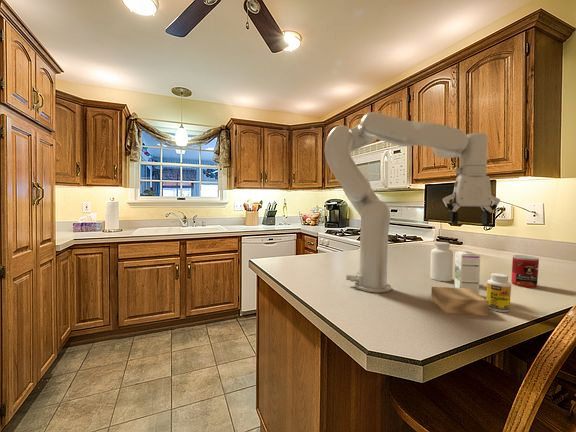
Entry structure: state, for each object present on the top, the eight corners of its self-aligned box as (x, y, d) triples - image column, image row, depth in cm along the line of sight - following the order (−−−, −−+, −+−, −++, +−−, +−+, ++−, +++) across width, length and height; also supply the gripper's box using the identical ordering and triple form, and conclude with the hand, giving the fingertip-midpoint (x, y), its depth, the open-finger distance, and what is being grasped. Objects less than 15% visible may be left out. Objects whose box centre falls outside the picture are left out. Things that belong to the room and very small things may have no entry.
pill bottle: (431, 275, 120) (433, 240, 119) (453, 278, 115) (454, 242, 114) (428, 279, 113) (429, 242, 112) (451, 283, 108) (452, 244, 108)
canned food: (515, 286, 105) (517, 257, 105) (508, 281, 113) (509, 254, 112) (541, 289, 102) (543, 259, 102) (531, 283, 110) (533, 255, 109)
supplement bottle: (486, 310, 81) (488, 275, 81) (485, 304, 86) (486, 271, 85) (511, 314, 78) (513, 278, 78) (508, 308, 83) (510, 274, 82)
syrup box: (479, 298, 91) (481, 254, 90) (459, 297, 92) (461, 253, 91) (471, 293, 96) (473, 251, 96) (452, 291, 98) (454, 250, 97)
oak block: (445, 313, 79) (446, 298, 78) (431, 300, 90) (431, 286, 89) (488, 316, 77) (488, 300, 77) (468, 302, 88) (469, 288, 88)
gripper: (449, 170, 90) (447, 224, 90) (508, 171, 87) (505, 225, 88) (439, 173, 97) (437, 222, 98) (493, 173, 95) (490, 224, 96)
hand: (469, 224), depth 93 cm, fingers open, 9 cm apart
